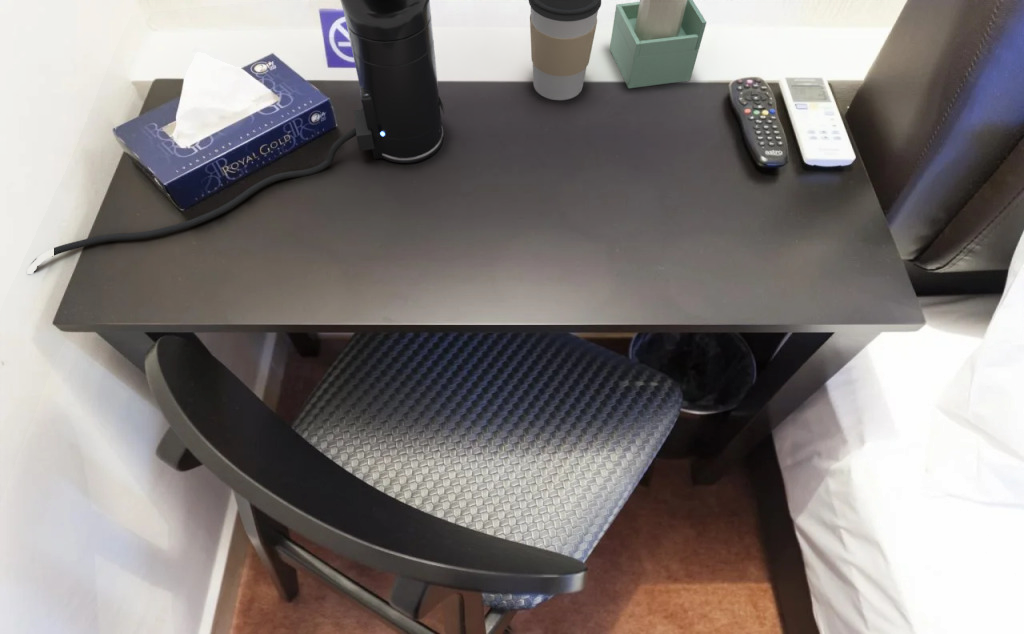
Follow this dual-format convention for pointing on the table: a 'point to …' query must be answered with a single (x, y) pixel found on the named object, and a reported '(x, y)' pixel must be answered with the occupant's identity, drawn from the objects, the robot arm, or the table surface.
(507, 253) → the table surface
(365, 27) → the robot arm
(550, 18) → the coffee cup
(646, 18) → the cup
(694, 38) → the mint green open box
